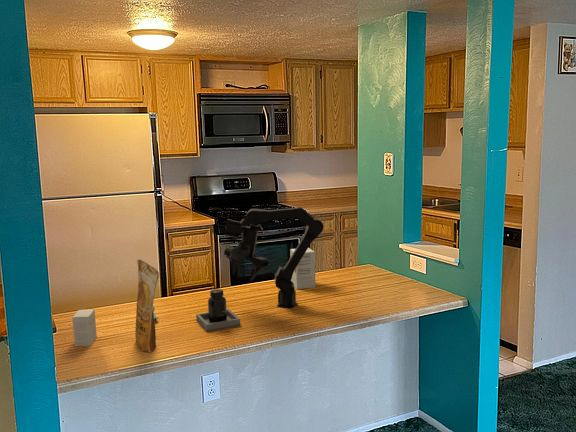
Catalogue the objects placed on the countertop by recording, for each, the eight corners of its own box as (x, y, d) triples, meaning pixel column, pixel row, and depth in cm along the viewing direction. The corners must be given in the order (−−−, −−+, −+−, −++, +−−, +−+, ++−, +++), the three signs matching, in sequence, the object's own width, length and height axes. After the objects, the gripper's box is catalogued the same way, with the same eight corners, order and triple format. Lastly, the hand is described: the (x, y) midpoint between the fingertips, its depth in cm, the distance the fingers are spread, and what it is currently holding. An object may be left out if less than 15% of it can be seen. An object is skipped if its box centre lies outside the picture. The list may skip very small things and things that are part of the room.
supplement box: (290, 284, 255) (289, 248, 252) (309, 282, 258) (308, 247, 255) (296, 289, 246) (296, 253, 243) (316, 287, 249) (315, 251, 246)
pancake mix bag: (151, 333, 197) (146, 257, 192) (164, 351, 180) (159, 269, 176) (132, 336, 194) (127, 259, 190) (143, 355, 177) (138, 271, 173)
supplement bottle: (228, 323, 203) (226, 292, 201) (209, 325, 202) (208, 294, 200) (225, 317, 210) (224, 287, 208) (207, 319, 208) (206, 288, 206)
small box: (81, 337, 194) (78, 309, 192) (97, 337, 194) (94, 308, 192) (74, 346, 186) (71, 317, 184) (91, 345, 186) (88, 316, 185)
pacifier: (144, 325, 205) (159, 322, 208) (142, 309, 204) (158, 306, 207) (139, 320, 212) (155, 316, 214) (138, 304, 210) (153, 301, 213)
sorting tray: (228, 315, 214) (228, 308, 214) (240, 325, 203) (240, 318, 202) (196, 320, 209) (196, 314, 208) (206, 331, 197) (206, 324, 197)
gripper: (218, 235, 217) (211, 272, 219) (256, 247, 208) (248, 286, 210) (235, 233, 227) (229, 269, 229) (272, 245, 217) (265, 283, 219)
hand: (242, 277), depth 221 cm, fingers open, 9 cm apart
